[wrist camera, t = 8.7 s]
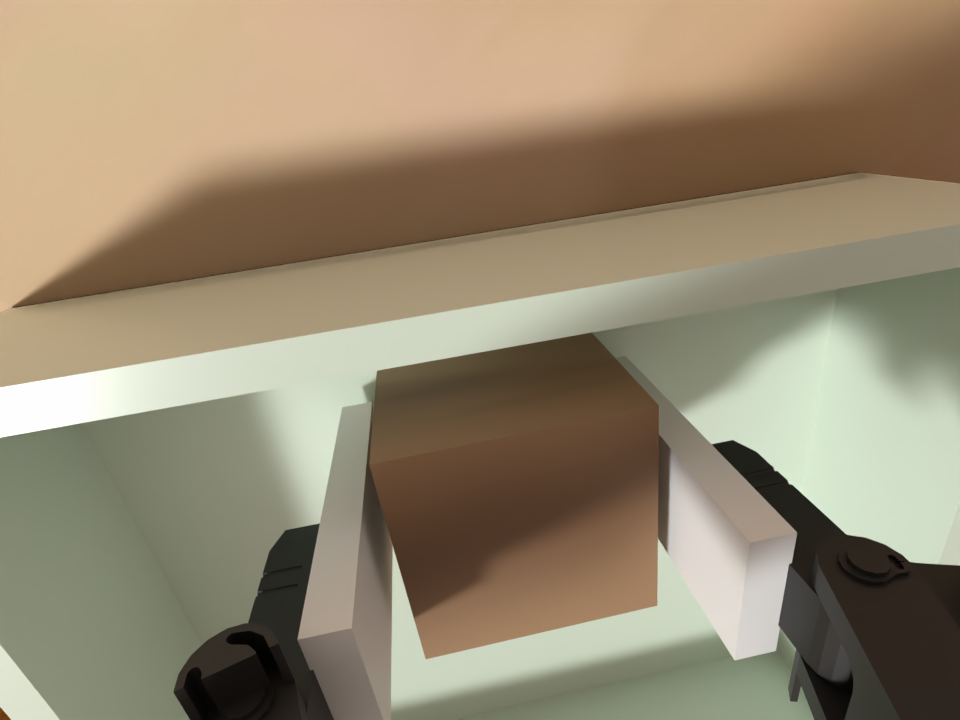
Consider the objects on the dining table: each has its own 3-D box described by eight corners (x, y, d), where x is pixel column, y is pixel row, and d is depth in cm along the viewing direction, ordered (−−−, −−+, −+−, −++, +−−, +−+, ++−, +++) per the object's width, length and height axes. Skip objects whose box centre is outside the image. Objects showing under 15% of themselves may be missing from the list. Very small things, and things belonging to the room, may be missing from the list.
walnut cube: (582, 466, 16) (657, 605, 11) (417, 500, 15) (425, 659, 11) (571, 310, 13) (658, 405, 9) (378, 346, 13) (368, 464, 9)
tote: (860, 172, 14) (1104, 199, 9) (777, 636, 22) (883, 780, 17) (9, 308, 12) (-240, 428, 7) (255, 756, 20) (212, 952, 15)
